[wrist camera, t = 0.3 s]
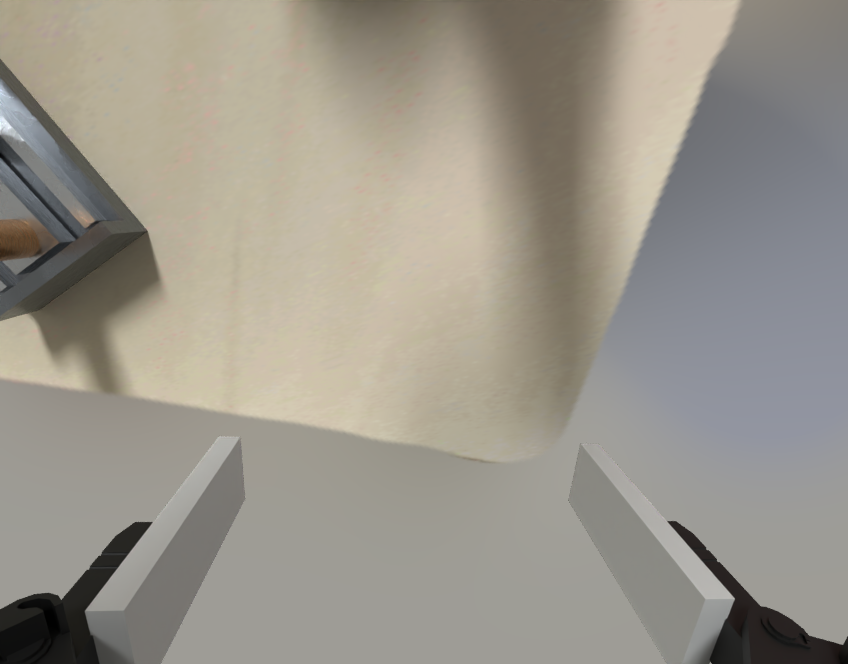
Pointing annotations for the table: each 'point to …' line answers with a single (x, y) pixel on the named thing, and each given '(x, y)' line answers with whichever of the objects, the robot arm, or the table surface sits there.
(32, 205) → the ram handle
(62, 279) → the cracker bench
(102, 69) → the table surface
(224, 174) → the table surface
